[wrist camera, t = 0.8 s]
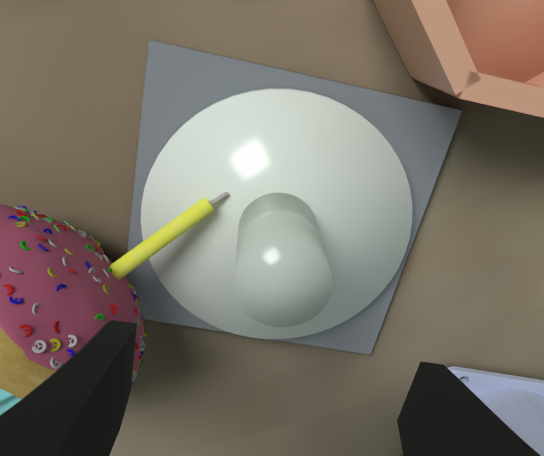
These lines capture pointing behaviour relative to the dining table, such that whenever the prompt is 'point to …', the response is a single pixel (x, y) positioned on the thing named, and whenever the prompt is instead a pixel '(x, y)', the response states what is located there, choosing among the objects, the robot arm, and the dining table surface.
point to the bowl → (473, 48)
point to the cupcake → (65, 292)
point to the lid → (279, 213)
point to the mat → (247, 76)
